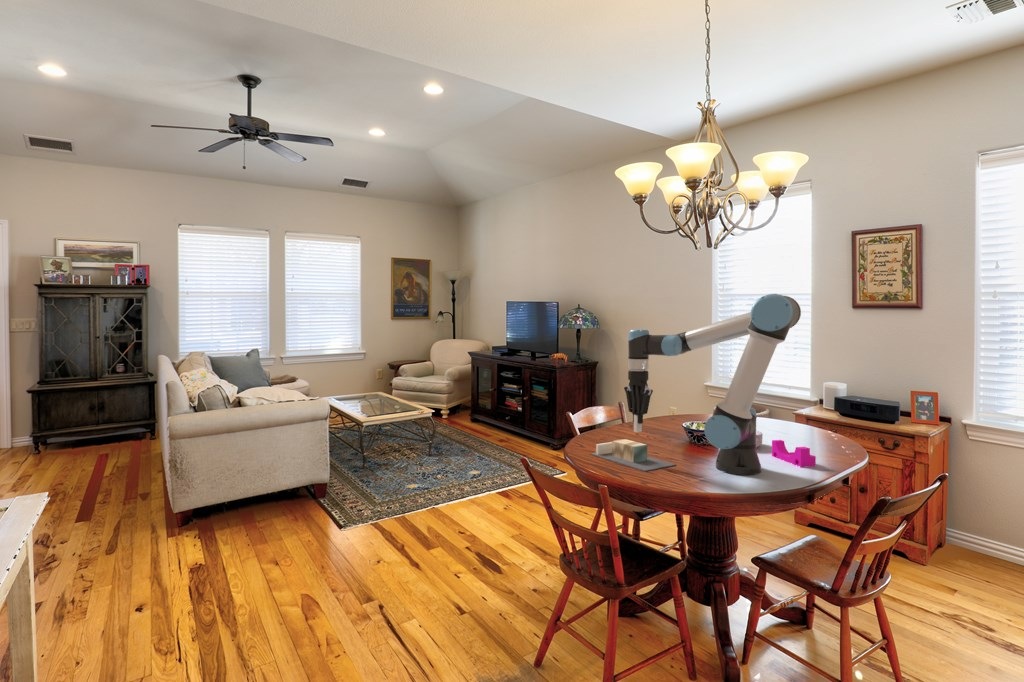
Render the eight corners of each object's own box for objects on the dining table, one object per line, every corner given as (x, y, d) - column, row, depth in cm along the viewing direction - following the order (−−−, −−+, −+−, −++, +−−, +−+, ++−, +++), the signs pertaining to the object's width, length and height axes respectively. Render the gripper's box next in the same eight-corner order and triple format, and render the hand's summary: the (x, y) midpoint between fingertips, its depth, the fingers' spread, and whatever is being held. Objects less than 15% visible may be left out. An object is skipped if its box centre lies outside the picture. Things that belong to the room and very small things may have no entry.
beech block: (647, 444, 203) (625, 439, 213) (633, 446, 199) (612, 440, 209) (647, 460, 203) (625, 453, 213) (633, 462, 199) (612, 456, 209)
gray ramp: (675, 465, 196) (675, 464, 196) (644, 471, 188) (644, 470, 188) (619, 449, 222) (619, 448, 222) (590, 454, 214) (590, 453, 214)
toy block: (815, 468, 193) (815, 447, 193) (800, 469, 192) (801, 448, 192) (785, 458, 208) (785, 439, 208) (771, 459, 206) (772, 440, 206)
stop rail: (624, 450, 219) (624, 440, 218) (598, 454, 211) (598, 444, 211) (622, 450, 220) (622, 440, 219) (596, 454, 212) (596, 444, 212)
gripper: (658, 370, 198) (657, 433, 198) (633, 368, 209) (632, 427, 209) (643, 371, 194) (643, 435, 194) (619, 369, 205) (618, 429, 205)
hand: (637, 431), depth 202 cm, fingers closed
